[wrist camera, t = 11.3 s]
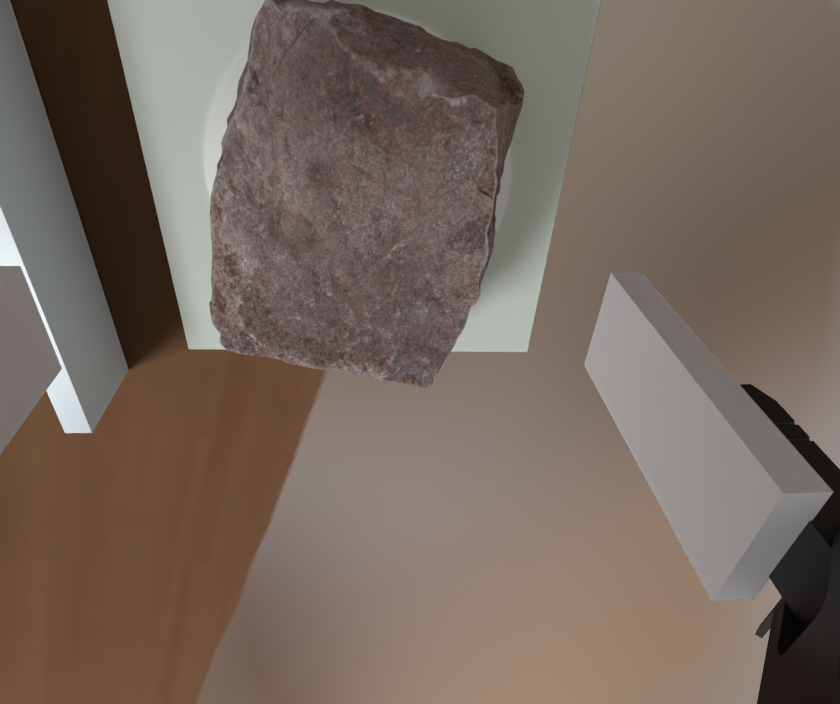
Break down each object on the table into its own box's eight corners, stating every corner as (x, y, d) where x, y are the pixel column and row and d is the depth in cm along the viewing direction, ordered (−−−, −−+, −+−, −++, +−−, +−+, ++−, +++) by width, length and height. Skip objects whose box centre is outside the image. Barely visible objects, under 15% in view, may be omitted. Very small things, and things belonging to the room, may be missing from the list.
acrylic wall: (105, 370, 25) (65, 433, 22) (-54, -82, 15) (-167, -90, 12) (128, 370, 25) (91, 432, 22) (-15, -79, 16) (-119, -87, 12)
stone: (242, -38, 16) (205, -35, 12) (528, 51, 18) (572, 78, 14) (217, 305, 23) (188, 377, 19) (429, 342, 24) (442, 414, 21)
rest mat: (191, 343, 24) (187, 350, 24) (91, -93, 15) (83, -94, 15) (525, 346, 26) (527, 353, 25) (608, -56, 17) (614, -56, 16)
